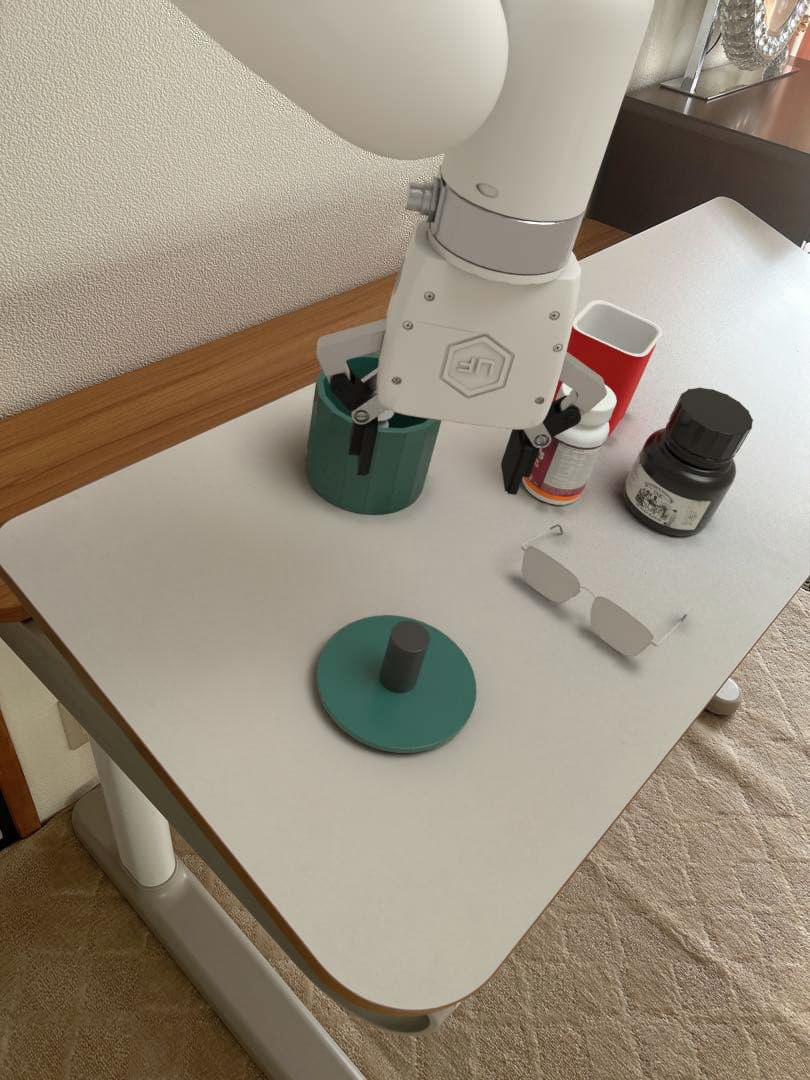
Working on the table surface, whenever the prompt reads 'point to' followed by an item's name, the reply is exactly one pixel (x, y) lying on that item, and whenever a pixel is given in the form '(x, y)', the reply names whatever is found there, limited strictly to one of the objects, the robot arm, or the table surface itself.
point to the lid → (396, 684)
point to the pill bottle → (571, 455)
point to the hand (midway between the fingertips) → (436, 471)
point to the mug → (613, 349)
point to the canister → (394, 457)
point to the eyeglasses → (605, 613)
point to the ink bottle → (688, 463)
